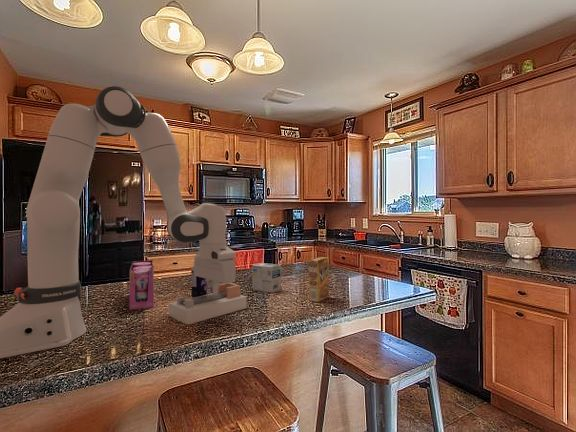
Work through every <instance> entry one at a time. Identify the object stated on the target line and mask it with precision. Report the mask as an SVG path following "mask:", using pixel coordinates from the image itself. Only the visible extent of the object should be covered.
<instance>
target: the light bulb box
mask: <svg viewBox="0 0 576 432" xmlns="http://www.w3.org/2000/svg"><path fill="white" fill-rule="evenodd" d="M251 265H252V267H251V268H252V269H251V270H252V271H251V274H252V276H251V277H252V291H259V292H263V293H264V292H266V293H272V294H273V293H276V292H278V291H281V290H282V265H281V264H274V263H264V262H259V263H254V264H251Z"/></svg>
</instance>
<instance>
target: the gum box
mask: <svg viewBox="0 0 576 432" xmlns="http://www.w3.org/2000/svg"><path fill="white" fill-rule="evenodd" d="M128 273H129V311H130V310H139V309H148V308H154V307H155V303H154V301H155V285H154V284H155V283H154V282H155V272H154V259H151V260H150V259H149V260H137V261H136V260H135V261H132V263H131V266H130V269H129V272H128Z"/></svg>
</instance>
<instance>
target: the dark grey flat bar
mask: <svg viewBox="0 0 576 432" xmlns="http://www.w3.org/2000/svg"><path fill="white" fill-rule="evenodd" d="M223 297H227V296H226V291H223V292H218V293H216V294H213V293H210V295H209V294H207V295H205V296H201V297H197V298H193V297H192V299H190V298H188V300H194V305H195V304H199V303H203V302H207V301H211V300H215V299H219V298H223ZM188 300H186V299H185V300H184V301H181V304H183V305H186V301H188Z"/></svg>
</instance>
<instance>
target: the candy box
mask: <svg viewBox="0 0 576 432" xmlns="http://www.w3.org/2000/svg"><path fill="white" fill-rule="evenodd" d="M329 262H330V261H329V257H324V256H318V257H316V258H312V259H308V288H309V289H308V290H309V291H308V292H309V299H308V300H309V302H316V303H319V302H322V301H323V300H325V299H328V298H329V297H330V282H329V281H330V280H329V279H330V277H329V276H330V273H329V270H330V269H329V268H330V266H329ZM327 297H328V298H327Z"/></svg>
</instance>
